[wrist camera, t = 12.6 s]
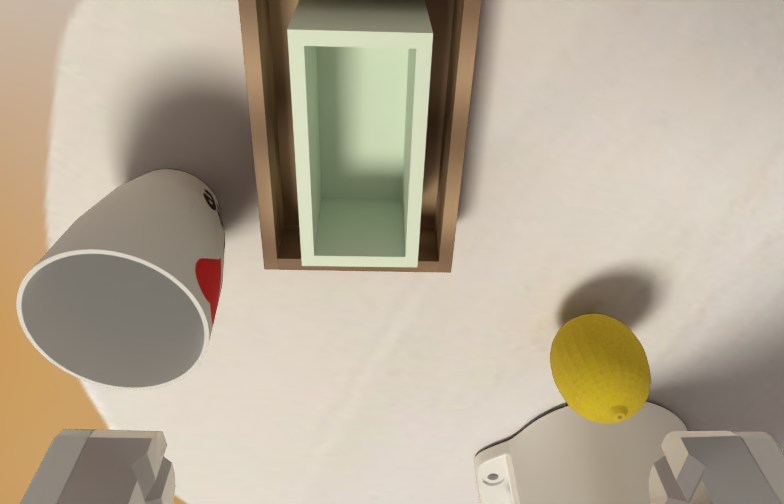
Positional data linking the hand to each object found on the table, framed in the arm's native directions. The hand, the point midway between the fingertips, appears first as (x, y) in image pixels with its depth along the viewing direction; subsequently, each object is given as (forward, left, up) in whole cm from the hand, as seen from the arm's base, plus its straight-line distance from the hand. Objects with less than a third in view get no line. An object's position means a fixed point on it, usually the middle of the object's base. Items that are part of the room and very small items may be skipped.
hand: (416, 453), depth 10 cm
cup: (-10, +12, -25) cm, 29 cm away
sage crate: (-4, +1, -24) cm, 24 cm away
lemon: (-18, -13, -25) cm, 33 cm away
